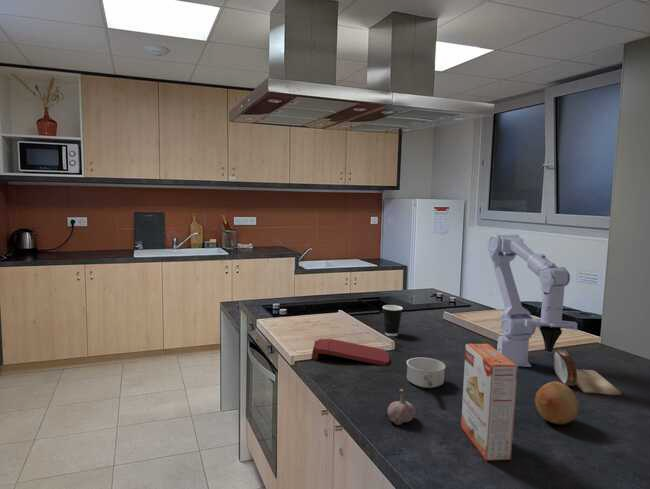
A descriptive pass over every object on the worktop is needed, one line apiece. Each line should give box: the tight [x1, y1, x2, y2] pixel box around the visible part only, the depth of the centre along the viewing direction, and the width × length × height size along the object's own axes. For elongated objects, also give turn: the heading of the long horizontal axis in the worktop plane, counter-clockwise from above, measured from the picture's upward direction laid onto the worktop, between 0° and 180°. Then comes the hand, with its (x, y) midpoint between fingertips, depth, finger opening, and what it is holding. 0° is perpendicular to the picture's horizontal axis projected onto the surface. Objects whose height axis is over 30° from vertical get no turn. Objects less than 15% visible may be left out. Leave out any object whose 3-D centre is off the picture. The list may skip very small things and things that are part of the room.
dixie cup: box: [382, 304, 404, 337], centre depth 183 cm, size 8×8×11 cm
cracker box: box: [460, 343, 519, 462], centre depth 102 cm, size 14×6×21 cm, turn 5°
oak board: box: [575, 368, 622, 396], centre depth 141 cm, size 10×17×1 cm, turn 173°
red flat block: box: [310, 338, 391, 366], centre depth 156 cm, size 12×5×26 cm
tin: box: [553, 349, 577, 387], centre depth 141 cm, size 15×3×8 cm, turn 168°
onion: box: [534, 380, 581, 425], centre depth 114 cm, size 10×10×10 cm
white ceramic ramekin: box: [405, 357, 447, 389], centre depth 133 cm, size 12×20×6 cm, turn 172°
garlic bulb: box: [386, 388, 416, 426], centre depth 113 cm, size 8×7×8 cm
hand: (548, 350), depth 141 cm, fingers closed
